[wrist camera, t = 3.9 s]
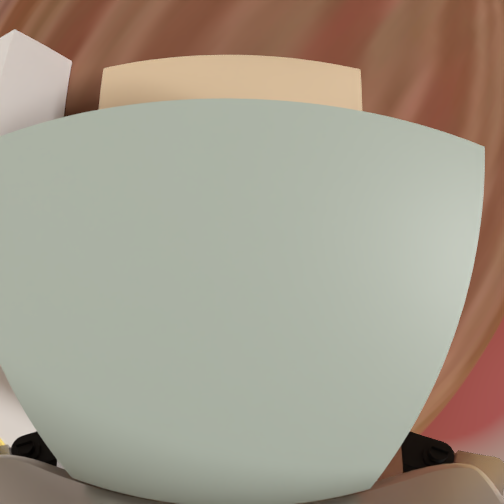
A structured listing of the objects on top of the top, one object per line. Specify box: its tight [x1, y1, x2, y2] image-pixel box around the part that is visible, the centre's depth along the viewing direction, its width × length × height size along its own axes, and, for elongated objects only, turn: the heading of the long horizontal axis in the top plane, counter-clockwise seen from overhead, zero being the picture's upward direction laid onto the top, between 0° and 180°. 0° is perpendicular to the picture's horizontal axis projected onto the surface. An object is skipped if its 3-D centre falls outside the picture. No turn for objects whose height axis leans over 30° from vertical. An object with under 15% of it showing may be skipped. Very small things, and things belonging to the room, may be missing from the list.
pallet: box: [99, 55, 362, 111], centre depth 9 cm, size 19×6×4 cm, turn 179°
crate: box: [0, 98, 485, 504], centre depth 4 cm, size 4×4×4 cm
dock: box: [0, 29, 72, 447], centre depth 9 cm, size 25×8×4 cm, turn 179°
